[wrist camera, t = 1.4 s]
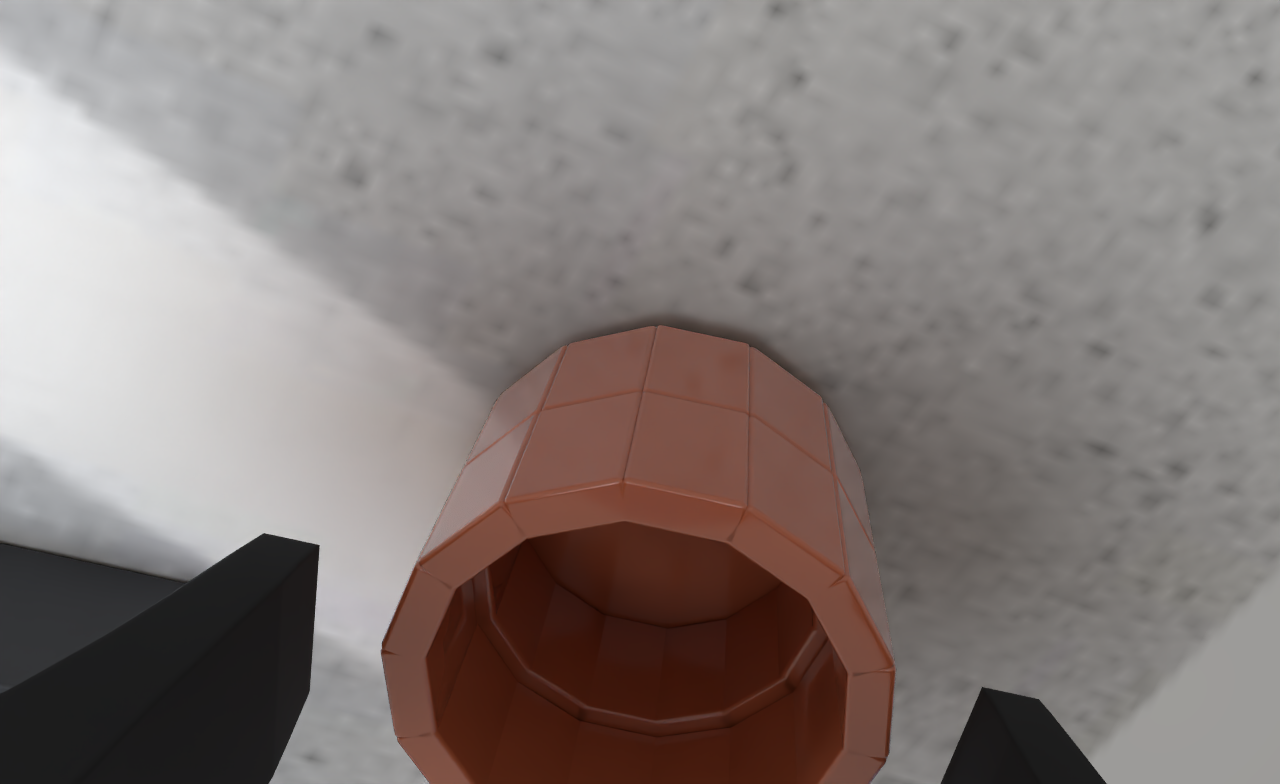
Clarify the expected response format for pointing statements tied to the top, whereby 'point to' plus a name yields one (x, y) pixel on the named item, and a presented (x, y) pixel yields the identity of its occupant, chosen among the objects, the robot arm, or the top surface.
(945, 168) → the top surface
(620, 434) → the flower pot
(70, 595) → the scale
